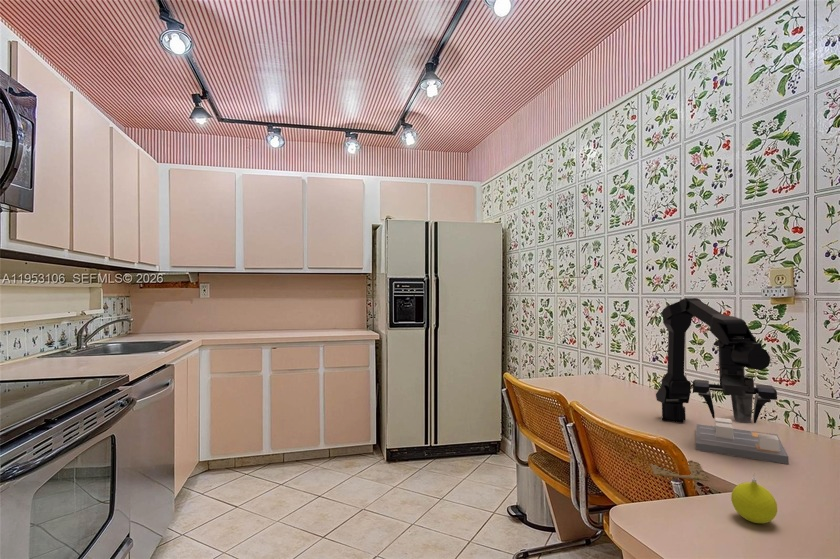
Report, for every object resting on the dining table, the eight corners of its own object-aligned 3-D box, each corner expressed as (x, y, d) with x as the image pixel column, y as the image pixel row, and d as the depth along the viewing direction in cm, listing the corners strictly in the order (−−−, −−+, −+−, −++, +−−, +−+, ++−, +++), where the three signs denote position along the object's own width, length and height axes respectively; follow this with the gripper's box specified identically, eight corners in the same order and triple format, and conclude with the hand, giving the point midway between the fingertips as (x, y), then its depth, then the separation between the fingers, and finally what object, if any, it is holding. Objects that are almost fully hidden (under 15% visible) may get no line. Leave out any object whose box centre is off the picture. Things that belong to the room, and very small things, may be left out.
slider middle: (716, 436, 125) (716, 426, 125) (716, 432, 129) (715, 422, 129) (733, 438, 123) (733, 428, 123) (732, 434, 126) (732, 424, 127)
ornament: (753, 532, 80) (751, 477, 80) (723, 513, 87) (721, 463, 87) (788, 529, 81) (785, 475, 81) (755, 510, 88) (753, 461, 88)
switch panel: (695, 450, 121) (695, 442, 121) (696, 430, 138) (696, 423, 138) (788, 464, 110) (788, 455, 110) (777, 441, 127) (777, 433, 127)
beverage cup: (761, 424, 142) (758, 363, 143) (736, 423, 144) (733, 363, 145) (749, 418, 150) (746, 360, 150) (725, 417, 151) (723, 360, 152)
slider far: (715, 430, 130) (715, 420, 130) (715, 427, 134) (715, 417, 134) (732, 432, 128) (731, 422, 128) (731, 429, 131) (731, 419, 132)
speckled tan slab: (646, 458, 117) (646, 454, 117) (698, 464, 113) (698, 460, 113) (652, 476, 106) (652, 472, 106) (710, 483, 101) (710, 479, 101)
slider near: (760, 448, 115) (759, 437, 115) (758, 444, 118) (757, 433, 118) (779, 451, 113) (778, 440, 113) (777, 447, 116) (776, 435, 116)
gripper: (691, 365, 119) (693, 423, 118) (778, 371, 108) (781, 434, 108) (692, 360, 128) (694, 413, 127) (772, 364, 118) (775, 422, 117)
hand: (733, 420), depth 120 cm, fingers open, 9 cm apart
